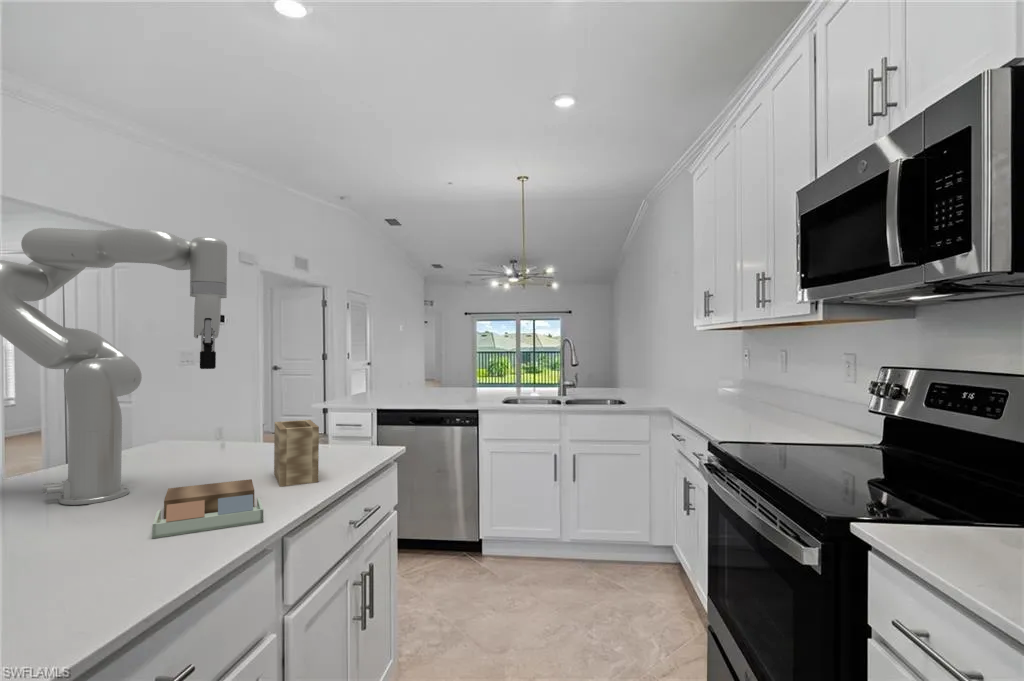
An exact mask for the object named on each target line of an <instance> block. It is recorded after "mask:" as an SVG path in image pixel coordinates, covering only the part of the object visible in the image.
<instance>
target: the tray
mask: <svg viewBox="0 0 1024 681" xmlns="http://www.w3.org/2000/svg"><path fill="white" fill-rule="evenodd" d="M161 512H162V509H157V510H156V513H155V517H154V518H153V522H152V526H151V528H152V532H151V535H152V536H151V537H152V538H151V539H159V538H165V537H167V538H168V537H174V536H181V535H188V534H194V533H199V532H208V531H212V530H214V531H215V530H221V529H225V528H226V529H227V528H233V527H241V526H246V525H247V526H248V525H254V524H260V523H264V507H263V504H262V499H261V497H260V496H257V498H256V506H254V507H253V510H251V511H243V512H236V513H229V514H221V515H218V512H215V513H207V514H205V517H199V518H192V519H185V520H177V521H170V522H166V519H164V518H161V516H162V513H161Z"/></svg>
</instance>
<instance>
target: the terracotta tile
mask: <svg viewBox="0 0 1024 681" xmlns="http://www.w3.org/2000/svg"><path fill="white" fill-rule="evenodd" d="M199 517H205V500H201V501H193V502H185V503H177V504H169V505H167V509H166V522H170V521H177V520H185V519H192V518H199Z"/></svg>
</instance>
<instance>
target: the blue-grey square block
mask: <svg viewBox="0 0 1024 681" xmlns="http://www.w3.org/2000/svg"><path fill="white" fill-rule="evenodd" d="M251 510H253V494H251V495H243V496H235V497H227V498H219V499H218V515H221V514H229V513H236V512H243V511H251Z"/></svg>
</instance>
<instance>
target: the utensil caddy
mask: <svg viewBox="0 0 1024 681" xmlns="http://www.w3.org/2000/svg"><path fill="white" fill-rule="evenodd" d="M319 429H320V427H319V426H318V425H317V424H316V423H315V422H313V420H311V419H300V420H299V419H298V420H286V421H274V429H273V430H274V433H273V434H274V436H273V437H274V441H273V443H274V446H273V447H274V448H273V449H274V450H273V455H274V456H273V459H274V460H273V462H274V463H273V475H274V477H275V480H276V481H277V484H278V486H279V487H280V488H281V487H290V486H297V485H298V486H299V485H305V484H314V483H319V459H320V458H319V457H320V456H319V453H320V452H319V450H320V449H319V448H320V447H319V446H320V445H319V444H320V441H319V440H320V438H319V437H320V434H319V433H320V432H319V431H320V430H319Z"/></svg>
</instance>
